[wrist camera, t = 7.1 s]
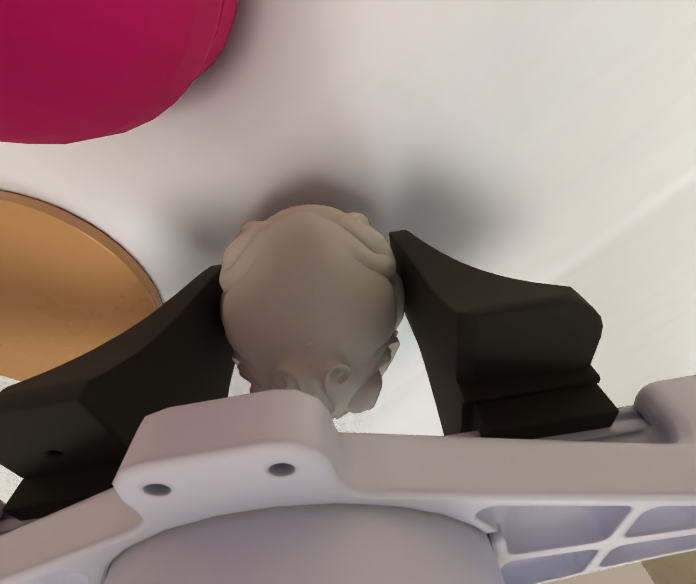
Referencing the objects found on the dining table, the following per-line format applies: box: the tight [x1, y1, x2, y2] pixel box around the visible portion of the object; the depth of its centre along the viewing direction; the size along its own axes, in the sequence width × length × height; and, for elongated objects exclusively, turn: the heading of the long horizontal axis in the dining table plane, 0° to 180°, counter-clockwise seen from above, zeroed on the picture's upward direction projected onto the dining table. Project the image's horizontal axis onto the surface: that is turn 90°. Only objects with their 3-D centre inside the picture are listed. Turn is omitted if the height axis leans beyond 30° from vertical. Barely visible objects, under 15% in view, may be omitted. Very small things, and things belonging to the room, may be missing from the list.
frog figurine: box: [219, 204, 406, 419], centre depth 11 cm, size 6×7×7 cm
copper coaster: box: [0, 191, 163, 381], centre depth 14 cm, size 10×10×1 cm
